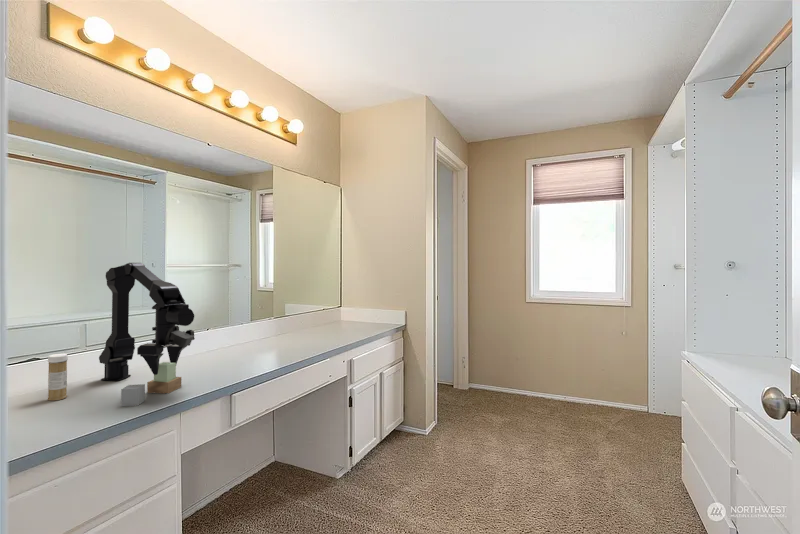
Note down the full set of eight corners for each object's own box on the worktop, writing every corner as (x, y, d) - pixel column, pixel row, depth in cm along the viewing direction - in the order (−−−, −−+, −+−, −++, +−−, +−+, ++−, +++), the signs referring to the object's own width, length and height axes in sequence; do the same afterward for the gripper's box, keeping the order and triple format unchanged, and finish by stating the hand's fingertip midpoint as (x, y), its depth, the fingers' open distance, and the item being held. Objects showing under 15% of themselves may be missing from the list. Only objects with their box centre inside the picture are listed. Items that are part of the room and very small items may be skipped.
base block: (147, 392, 130) (147, 381, 130) (161, 386, 137) (161, 375, 137) (168, 393, 130) (168, 382, 130) (181, 387, 137) (181, 376, 137)
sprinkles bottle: (54, 396, 126) (55, 353, 125) (70, 396, 126) (71, 352, 126) (43, 401, 121) (43, 356, 121) (59, 401, 121) (60, 356, 121)
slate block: (121, 406, 118) (121, 389, 118) (128, 401, 123) (128, 384, 122) (138, 405, 119) (138, 388, 119) (144, 400, 123) (144, 384, 123)
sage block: (153, 380, 132) (153, 365, 132) (162, 377, 136) (163, 362, 136) (166, 381, 131) (167, 366, 131) (175, 377, 136) (175, 362, 136)
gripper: (171, 328, 124) (170, 379, 124) (204, 320, 142) (204, 364, 142) (136, 327, 124) (135, 378, 124) (174, 319, 143) (173, 363, 143)
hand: (164, 370), depth 134 cm, fingers open, 9 cm apart
